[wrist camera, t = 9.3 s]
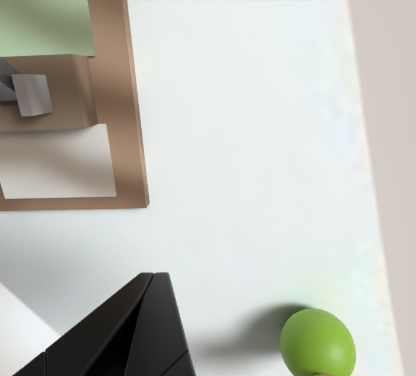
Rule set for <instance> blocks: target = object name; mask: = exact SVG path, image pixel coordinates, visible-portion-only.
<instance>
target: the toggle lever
mask: <svg viewBox="0 0 416 376" xmlns="http://www.w3.org/2000/svg"><path fill="white" fill-rule="evenodd" d="M16 74H21V73H20V72H19V71H17V70H16V69H15V68H14V67H12V66H11V65H10V64H9V63H7V62H6V61H5V60H4V59H2V58H1V57H0V101H18V100H17V96H16V92H15V88H14V84H13V80H12V76H11V75H16Z"/></svg>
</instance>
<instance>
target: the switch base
mask: <svg viewBox="0 0 416 376" xmlns="http://www.w3.org/2000/svg"><path fill="white" fill-rule="evenodd" d="M0 57H1V58H2V59H4V60H5V61H6V62H7V63H9V64H10V65H11V66H12V67H14V68H15V69H16V70H17V71H19V72H20V73H21V74H16V75H11V76H12V80H13V84H14V88H15V92H16V96H17V100H18V101H0V211H10V210H65V209H121V208H147V206H148V204H149V194H148V185H147V176H146V167H145V158H144V149H143V140H142V131H141V122H140V113H139V104H138V95H137V86H136V77H135V68H134V59H133V50H132V41H131V32H130V23H129V14H128V5H127V0H0Z"/></svg>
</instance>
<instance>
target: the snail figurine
mask: <svg viewBox="0 0 416 376" xmlns="http://www.w3.org/2000/svg"><path fill="white" fill-rule="evenodd" d="M280 349H281V354H282V357H283V360H284V362H285V364H286V366H287V367H288V369H289V370H290V372H291V373H292V374H293V375H294V376H350V375H351V373H352V371H353V369H354V366H355V361H356V350H355V345H354V341H353V339H352V336H351V334H350V332H349V331H348V329H347V328H346V326H345V325H344V324H343V323H342V322H341V321H340V320H339V319H338V318H337V317H335V316H334V315H332V314H331V313H329V312H326V311H324V310H320V309H304V310H300V311H298V312H296V313H295V314H293V315H292V316H291V317H290V318H289V319H288V320H287V321H286V323H285V324H284V326H283V329H282V332H281V336H280Z"/></svg>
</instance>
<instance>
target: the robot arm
mask: <svg viewBox="0 0 416 376" xmlns="http://www.w3.org/2000/svg"><path fill="white" fill-rule="evenodd" d="M13 376H196V374H195V370H194V367H193V363H192V360H191V356H190V353H189V349H188V345H187V341H186V337H185V333H184V329H183V326H182V322H181V318H180V314H179V310H178V306H177V302H176V299H175V295H174V291H173V287H172V283H171V279H170V276H169V273H167V272H159V273H155V274H154V273H140V274H138V275H137V276H136V277H135V278H133V279H132V280H131V281H130V282H128V283H127V284H126V285H125V286H123V287H122V288H121V289H120V290H118V291H117V292H116V293H115V294H114V295H112V296H111V297H110V298H109V299H107V300H106V301H105V302H104V303H102V304H101V305H100V306H99V307H97V308H96V309H95V310H94V311H92V312H91V313H90V314H89V315H88V316H86V317H85V318H84V319H83V320H81V321H80V322H79V323H78V324H76V325H75V326H74V327H73V328H71V329H70V330H69V331H68V332H67V333H65V334H64V335H63V336H62V337H60V338H59V339H58V340H57V341H55V342H54V343H53V344H52V345H50V347H48V348H47V349H46V350H45V352H42V353H40V354H39V355H38V356H37V357H35V358H34V359H33V360H32V361H30V362H29V363H28V364H27V365H25V366H24V367H23V368H22V369H20V370H19V371H18V372H17V373H15V374H14V375H13Z"/></svg>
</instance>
